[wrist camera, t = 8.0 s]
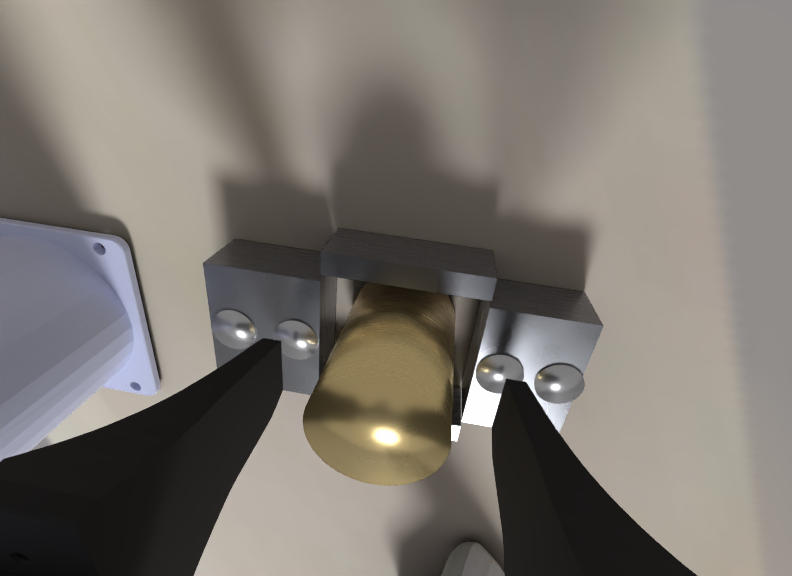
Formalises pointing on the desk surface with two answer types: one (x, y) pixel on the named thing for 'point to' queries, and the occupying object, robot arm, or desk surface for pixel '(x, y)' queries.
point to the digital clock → (471, 562)
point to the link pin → (387, 388)
